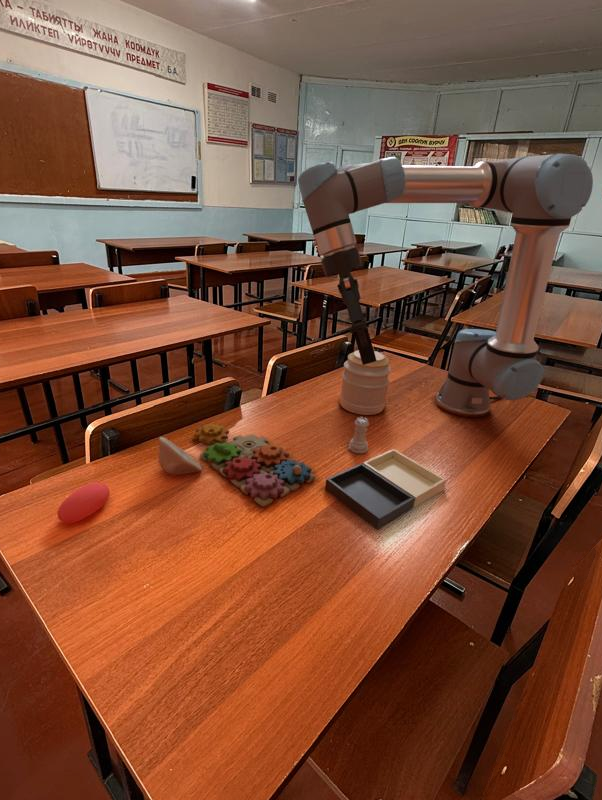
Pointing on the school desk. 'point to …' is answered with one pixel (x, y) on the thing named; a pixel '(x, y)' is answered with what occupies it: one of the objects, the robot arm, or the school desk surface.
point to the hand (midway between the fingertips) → (367, 355)
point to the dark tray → (369, 495)
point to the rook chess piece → (359, 436)
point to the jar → (365, 384)
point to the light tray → (407, 475)
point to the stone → (175, 459)
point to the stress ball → (83, 502)
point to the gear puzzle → (253, 464)
